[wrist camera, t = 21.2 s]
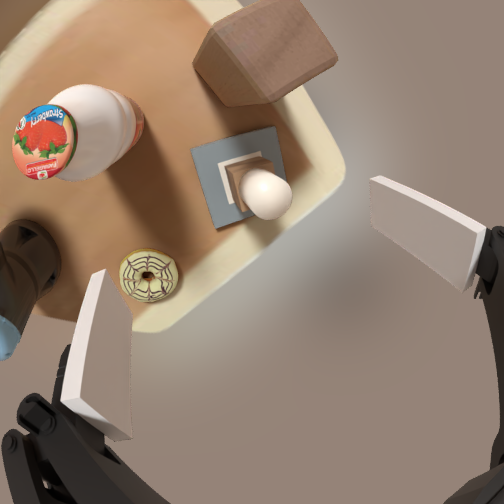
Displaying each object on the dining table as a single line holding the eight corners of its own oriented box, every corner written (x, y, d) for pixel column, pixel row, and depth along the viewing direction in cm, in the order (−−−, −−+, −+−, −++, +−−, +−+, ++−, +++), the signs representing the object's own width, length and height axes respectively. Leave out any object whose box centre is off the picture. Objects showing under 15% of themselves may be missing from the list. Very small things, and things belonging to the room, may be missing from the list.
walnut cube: (232, 200, 46) (242, 212, 41) (224, 165, 43) (232, 173, 37) (266, 189, 46) (280, 200, 41) (259, 156, 43) (272, 162, 38)
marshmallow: (243, 210, 41) (255, 225, 35) (233, 174, 38) (244, 185, 33) (278, 198, 41) (295, 211, 36) (270, 163, 38) (287, 171, 33)
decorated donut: (175, 294, 53) (177, 306, 50) (122, 292, 49) (120, 304, 46) (179, 246, 49) (180, 256, 45) (120, 243, 45) (117, 253, 42)
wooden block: (275, 77, 39) (345, 61, 22) (226, 110, 40) (271, 107, 23) (240, 31, 34) (292, -15, 17) (189, 63, 35) (206, 25, 18)
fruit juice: (145, 92, 35) (108, 55, 11) (145, 150, 39) (112, 205, 16) (87, 100, 32) (-14, 92, 9) (89, 158, 37) (-1, 223, 13)
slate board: (213, 225, 48) (215, 228, 47) (189, 149, 41) (190, 150, 40) (287, 200, 50) (291, 203, 49) (272, 126, 43) (275, 126, 42)
